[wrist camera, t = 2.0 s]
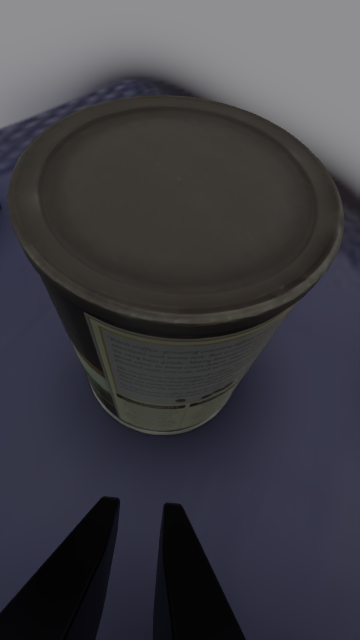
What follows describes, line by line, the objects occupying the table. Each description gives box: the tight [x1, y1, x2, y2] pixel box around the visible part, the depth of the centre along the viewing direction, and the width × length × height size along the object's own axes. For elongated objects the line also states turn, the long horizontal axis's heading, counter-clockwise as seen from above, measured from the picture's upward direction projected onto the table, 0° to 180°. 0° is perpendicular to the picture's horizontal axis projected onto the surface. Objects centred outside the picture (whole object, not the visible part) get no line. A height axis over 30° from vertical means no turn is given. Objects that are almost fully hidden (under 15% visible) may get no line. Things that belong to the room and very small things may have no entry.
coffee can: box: [7, 95, 344, 435], centre depth 16 cm, size 10×10×14 cm
